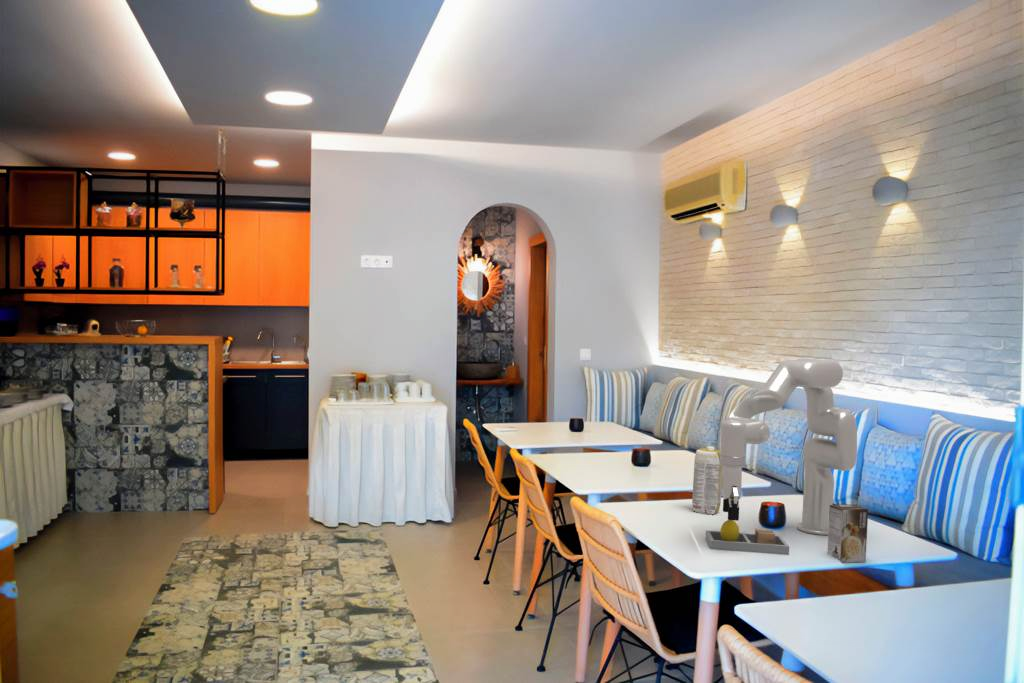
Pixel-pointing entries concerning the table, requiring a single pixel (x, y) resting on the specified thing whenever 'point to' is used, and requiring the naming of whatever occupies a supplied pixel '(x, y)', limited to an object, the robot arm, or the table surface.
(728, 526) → the lemon
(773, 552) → the slot tray
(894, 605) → the table surface
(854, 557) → the coffee box
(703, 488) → the juice carton
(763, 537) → the walnut block
